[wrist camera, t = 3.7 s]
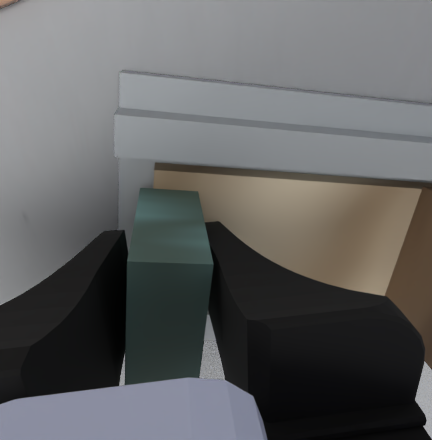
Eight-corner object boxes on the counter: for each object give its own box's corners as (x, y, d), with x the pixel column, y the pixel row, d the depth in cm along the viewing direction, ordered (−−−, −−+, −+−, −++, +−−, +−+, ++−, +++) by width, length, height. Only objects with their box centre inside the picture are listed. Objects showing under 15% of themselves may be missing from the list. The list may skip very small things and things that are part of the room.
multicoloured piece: (551, 192, 15) (731, 263, 10) (499, 295, 17) (629, 395, 12) (142, 161, 12) (127, 235, 8) (137, 286, 14) (124, 405, 10)
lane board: (640, 126, 15) (711, 139, 13) (528, 326, 19) (569, 359, 17) (122, 70, 12) (113, 75, 10) (119, 322, 16) (113, 361, 14)
